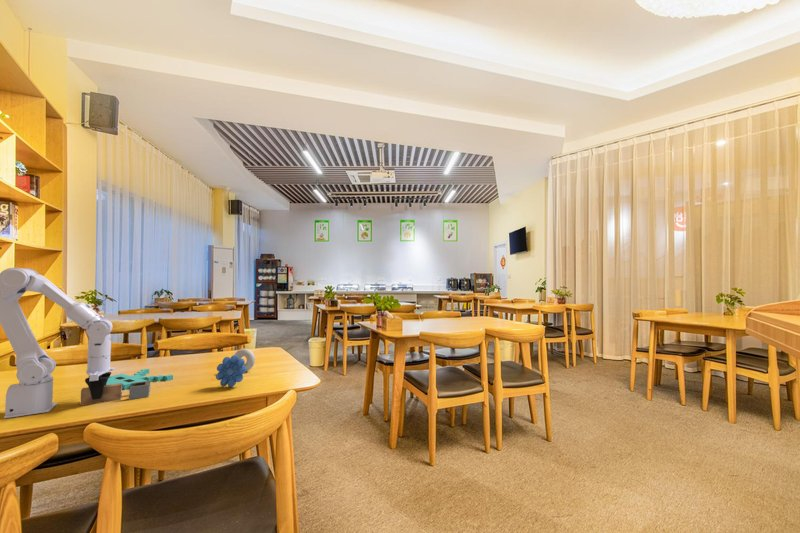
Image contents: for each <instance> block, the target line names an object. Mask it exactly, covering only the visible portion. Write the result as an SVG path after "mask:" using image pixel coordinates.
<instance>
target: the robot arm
mask: <svg viewBox="0 0 800 533" xmlns="http://www.w3.org/2000/svg"><path fill="white" fill-rule="evenodd" d="M27 291H28V292H34V293H40V294H42V295H43V296H45V297H46V298H47V299H49V300H51V301H52V302H54V303H55V304H56V305H57V306H59V307H61V308H62V309H64V310H65V317H66V318H68V319H69V320H71V321H72V322H74V324H76V325H77V326H79V327H80V328H81V329H82V330H84V329H85V333H86V335H87V337H88V343H87V364H86V367H87V368H86V369H87V370H86V371H85V372H86V375H88V377H86V378H85V379H84V382H85V384H86V385H87V386H88V387H89V389H90V392H91V396H92V399H93V400H94V399H101V397H102V394H103V389H104V385H106V383H107V381H108V378H109V376H112V372H111V371H115V370H116V369H115V366H113V367H111V353H112V341H111V339H112V337H111V336H112V334H111V332H112V331H113V328H114V326H113V323H112V321H111V320H110V318H106V317H105V315H103V314H101V315H100V314H99V313H98V312H97V311H95V310H94V309H93V308H92V305H91V304H90V303H87V304H86V303H85V302H76V301H75V300H74V299H72V298H71V297H70V296H69V295H68V294H66V293H65V291H62V289H60V288H59V287H58V286H57V285H55V284H54V282H52V281H51V280H50V279H48V278H47V277H46V276H44V275H42V274H39V272H37V271H36V270H35V269H32V268H28V267H22V268H20V267H9V268H6V269H3V270H2V271H1V272H0V325H1V327H2V330H3V332H4V334H5V335H6V338H7V340H8V341H9V344H10V346H11V347H12V350H13V351H14V354H15V355H16V357H15V363H14V364H15V367H16V370H17V371H16V379H17V380H18V383H13V384H10V385H9V386H8V388H7V390H6V393H5V410H4V417H3V419H10V418H17V417H22V416H31V415H36V414H42V413H43V414H44V413H49V412H51V410H52V409H54V408H55V407H56V406H57V405H58V402H53V397H54V396H53V393H54V376H53V375H52V373H53V372H54V371H55V369H56V365H57V363H56V361H55V360H54V359H53V358H51V357H50V356H49V355H48V354H47V352H46V351H45V350H44V349H43V348H41V347H40V344H39V342H38V341H37V338H36V336H35V334H34V332H33V330H32V328H31V326H30V324H29V322H28V320H27V318H26V316H25V314H24V311H23V309H22V307H21V304H19V300H20V299H21V298H22V297H23V296H24V295H25V293H26V292H27Z"/></svg>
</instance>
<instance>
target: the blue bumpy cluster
mask: <svg viewBox="0 0 800 533" xmlns="http://www.w3.org/2000/svg"><path fill="white" fill-rule="evenodd" d="M238 359H239V358H238V356H237V355H235V354H233V355H232V356H231V357H229V356H225V357H224V358H223V359H222V362H221V363H219V364H218V365H217V366H216V371H217V373H216V375H215V380H218V381H220V382H219V384H220V386H222V387H225V386H228V388H233V387H234V386H235V385H236V384H237V383H242V381H243V380H244V376H243V375H244V374H245V373H246V372H247V371H246V370H247V368H246V367H245V366H243V365H244V364H245V363H246V362H245V361H246V360H245V359H244V358H242V359H239V360H238Z"/></svg>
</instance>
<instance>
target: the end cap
mask: <svg viewBox="0 0 800 533" xmlns="http://www.w3.org/2000/svg"><path fill="white" fill-rule="evenodd" d="M150 393H151V382H150V381H143V382H135V383H132V386H131V387H130V389H129V394H128V395H129V399H128V400H137V399H143V398H149V397H150Z"/></svg>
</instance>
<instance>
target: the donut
mask: <svg viewBox="0 0 800 533" xmlns="http://www.w3.org/2000/svg"><path fill="white" fill-rule="evenodd" d="M234 355H237V356H238V358H239V359H243V357H245V359H246V362H245V363H244V365H243V366H245V367H246V368H247V370H246V372H248V371H250V370H252V368H253V367H254V365H255V362H256V355H255V354H254V352H253V351H252V350H250V349H249V348H246V347H245V348H240V349H238V350H237V351H236V352H235V353H234ZM239 359H238V360H239Z"/></svg>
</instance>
